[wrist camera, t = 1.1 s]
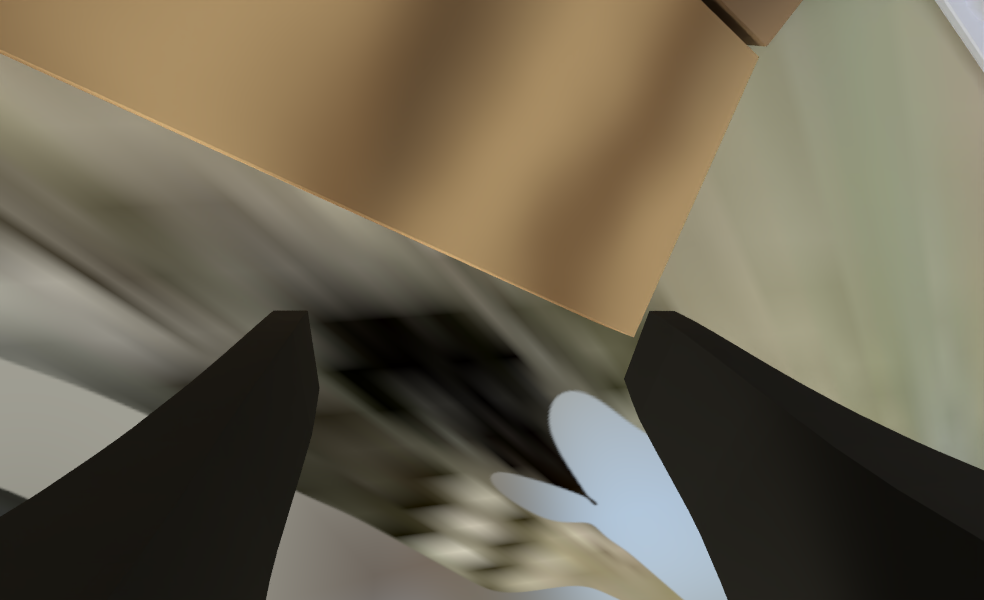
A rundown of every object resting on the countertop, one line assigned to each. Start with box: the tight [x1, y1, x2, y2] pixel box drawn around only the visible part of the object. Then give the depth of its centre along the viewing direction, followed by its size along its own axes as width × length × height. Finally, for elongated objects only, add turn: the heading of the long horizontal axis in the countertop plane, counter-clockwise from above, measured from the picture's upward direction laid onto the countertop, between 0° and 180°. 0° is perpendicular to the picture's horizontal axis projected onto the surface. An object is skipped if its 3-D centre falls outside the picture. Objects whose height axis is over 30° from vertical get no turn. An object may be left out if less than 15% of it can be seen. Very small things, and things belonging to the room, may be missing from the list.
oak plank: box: [0, 0, 759, 337], centre depth 11 cm, size 18×10×2 cm, turn 59°
